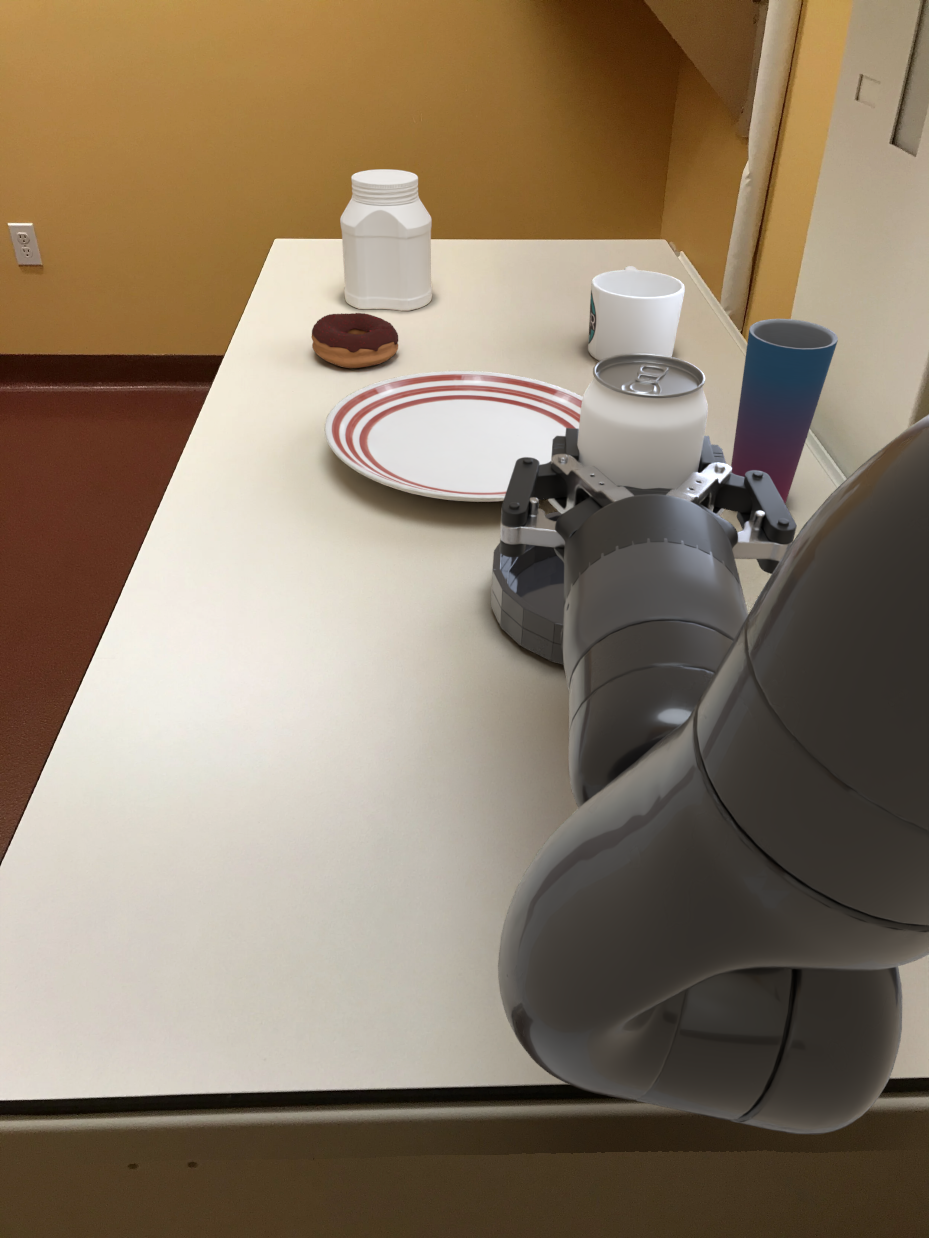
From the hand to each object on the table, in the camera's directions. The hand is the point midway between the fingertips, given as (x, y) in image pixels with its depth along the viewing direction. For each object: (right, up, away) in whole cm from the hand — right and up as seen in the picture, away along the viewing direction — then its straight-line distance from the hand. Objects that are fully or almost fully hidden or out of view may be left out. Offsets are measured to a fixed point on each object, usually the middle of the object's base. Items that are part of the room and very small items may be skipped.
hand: (633, 447), depth 53 cm
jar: (-20, +33, +74) cm, 83 cm away
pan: (+1, -9, +18) cm, 20 cm away
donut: (-22, +21, +58) cm, 65 cm away
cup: (+16, +1, +32) cm, 36 cm away
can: (0, -7, +2) cm, 7 cm away
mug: (+10, +23, +61) cm, 66 cm away
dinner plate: (-9, +6, +38) cm, 39 cm away
